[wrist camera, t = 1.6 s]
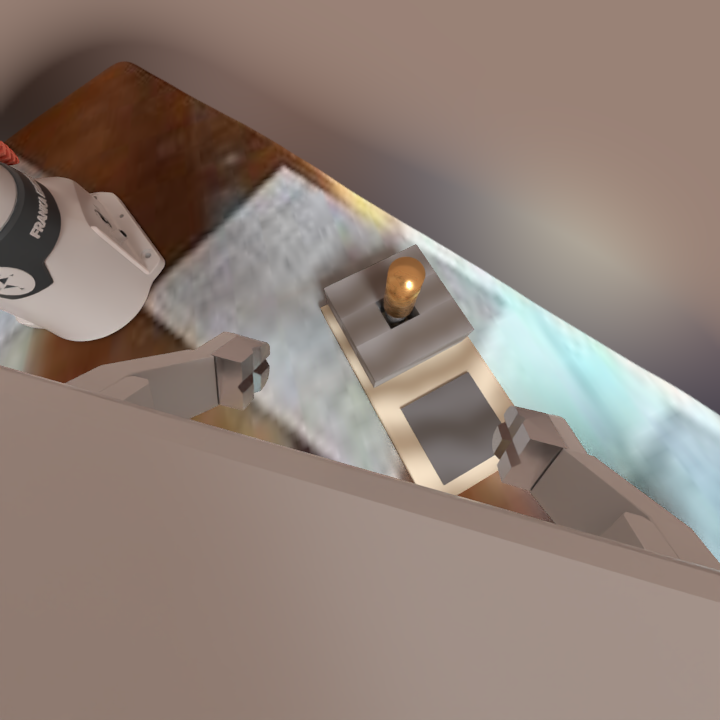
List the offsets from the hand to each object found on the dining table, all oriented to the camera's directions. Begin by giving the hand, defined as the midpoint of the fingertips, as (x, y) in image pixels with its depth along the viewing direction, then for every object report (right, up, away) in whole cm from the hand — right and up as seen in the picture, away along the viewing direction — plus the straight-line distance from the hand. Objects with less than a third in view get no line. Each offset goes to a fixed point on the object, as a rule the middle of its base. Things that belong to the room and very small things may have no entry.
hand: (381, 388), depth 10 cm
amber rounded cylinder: (+3, +6, +26) cm, 26 cm away
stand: (+7, -1, +25) cm, 26 cm away
